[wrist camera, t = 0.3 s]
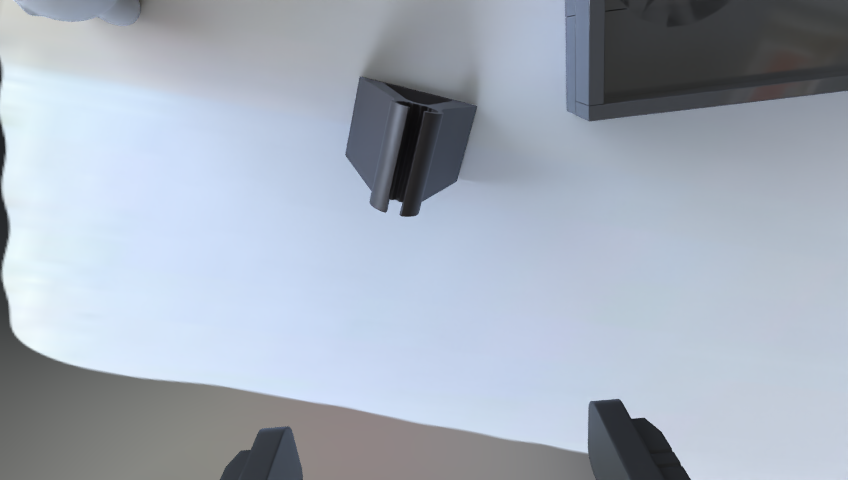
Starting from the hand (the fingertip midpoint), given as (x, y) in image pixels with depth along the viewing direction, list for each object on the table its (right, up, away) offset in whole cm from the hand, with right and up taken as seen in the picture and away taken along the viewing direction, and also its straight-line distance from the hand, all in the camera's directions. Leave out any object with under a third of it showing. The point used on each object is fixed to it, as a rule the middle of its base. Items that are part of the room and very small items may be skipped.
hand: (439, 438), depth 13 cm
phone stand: (-1, +14, +25) cm, 29 cm away
